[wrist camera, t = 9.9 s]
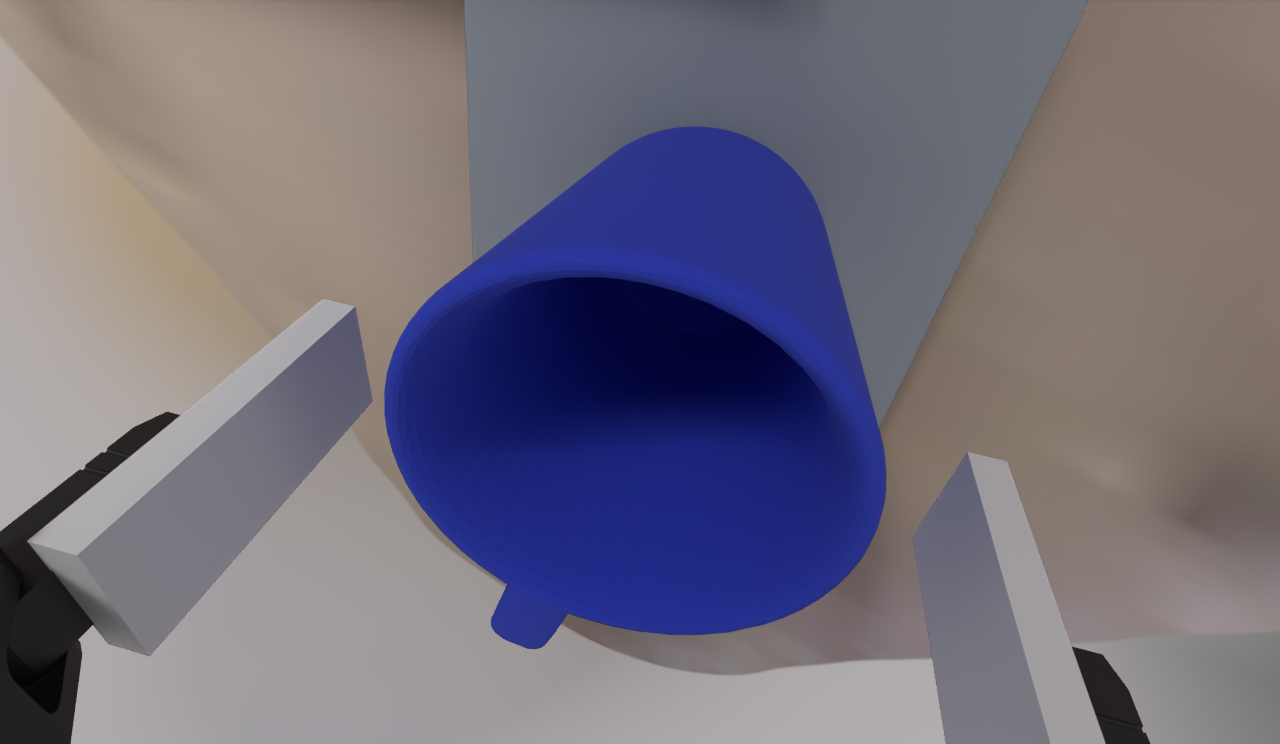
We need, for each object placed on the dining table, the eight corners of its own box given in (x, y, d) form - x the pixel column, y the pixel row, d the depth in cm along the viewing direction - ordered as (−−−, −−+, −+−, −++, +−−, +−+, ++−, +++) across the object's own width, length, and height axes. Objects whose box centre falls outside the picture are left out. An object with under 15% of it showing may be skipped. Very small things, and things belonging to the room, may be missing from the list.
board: (481, -106, 15) (461, -107, 14) (1069, -5, 14) (1089, 0, 13) (490, 430, 26) (479, 449, 25) (824, 515, 25) (824, 539, 24)
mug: (501, 370, 23) (335, 613, 15) (625, 24, 15) (427, 137, 7) (704, 466, 23) (649, 750, 15) (917, 178, 16) (1025, 435, 8)
